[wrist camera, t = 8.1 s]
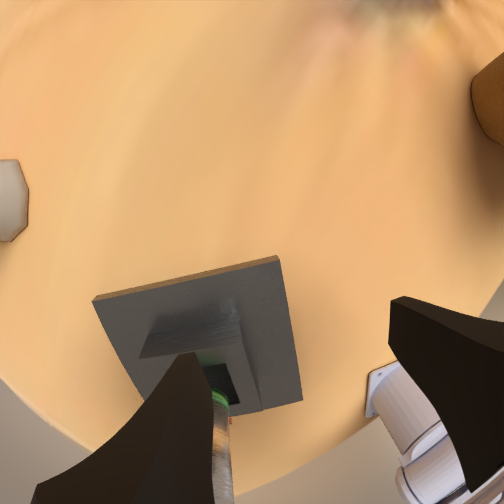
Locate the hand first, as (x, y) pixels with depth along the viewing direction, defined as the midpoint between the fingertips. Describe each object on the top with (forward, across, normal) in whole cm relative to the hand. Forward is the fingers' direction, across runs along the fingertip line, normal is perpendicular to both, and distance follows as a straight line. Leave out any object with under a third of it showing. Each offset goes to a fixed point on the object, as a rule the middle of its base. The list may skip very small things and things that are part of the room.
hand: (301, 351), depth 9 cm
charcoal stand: (+10, +6, +7) cm, 14 cm away
